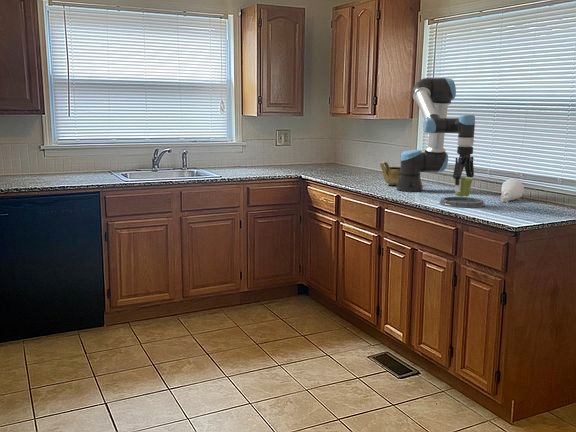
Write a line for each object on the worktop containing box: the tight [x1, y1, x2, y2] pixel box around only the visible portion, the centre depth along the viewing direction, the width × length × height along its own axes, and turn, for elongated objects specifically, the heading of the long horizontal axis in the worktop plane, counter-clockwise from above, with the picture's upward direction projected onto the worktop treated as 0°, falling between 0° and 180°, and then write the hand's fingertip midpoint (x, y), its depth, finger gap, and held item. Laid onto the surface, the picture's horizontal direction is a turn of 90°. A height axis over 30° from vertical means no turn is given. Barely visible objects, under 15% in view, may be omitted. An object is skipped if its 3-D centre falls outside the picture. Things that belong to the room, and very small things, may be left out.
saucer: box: [438, 196, 485, 209], centre depth 299 cm, size 22×22×2 cm
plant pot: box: [453, 177, 474, 197], centre depth 297 cm, size 9×9×9 cm
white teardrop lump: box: [499, 178, 525, 204], centre depth 310 cm, size 12×12×18 cm
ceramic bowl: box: [379, 161, 400, 187], centre depth 368 cm, size 22×17×15 cm
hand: (462, 190), depth 298 cm, fingers closed on plant pot, 9 cm apart
